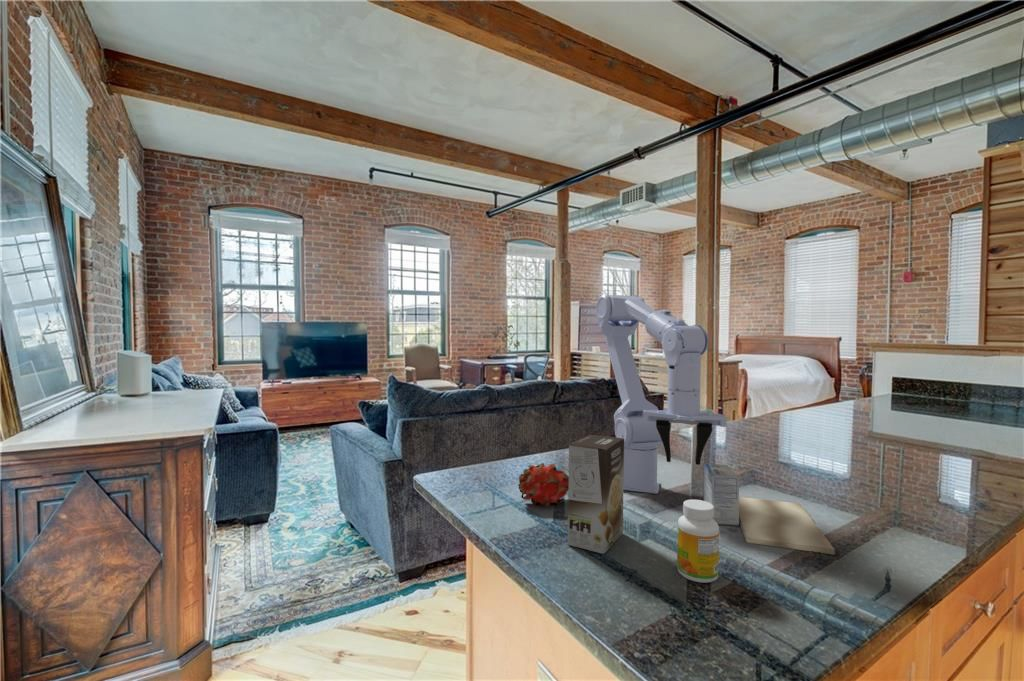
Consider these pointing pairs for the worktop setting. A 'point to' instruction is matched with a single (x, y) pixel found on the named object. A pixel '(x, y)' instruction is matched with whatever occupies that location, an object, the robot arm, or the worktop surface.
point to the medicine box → (722, 493)
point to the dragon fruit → (543, 484)
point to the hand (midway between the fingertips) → (683, 462)
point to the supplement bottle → (698, 542)
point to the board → (781, 525)
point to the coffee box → (595, 492)
